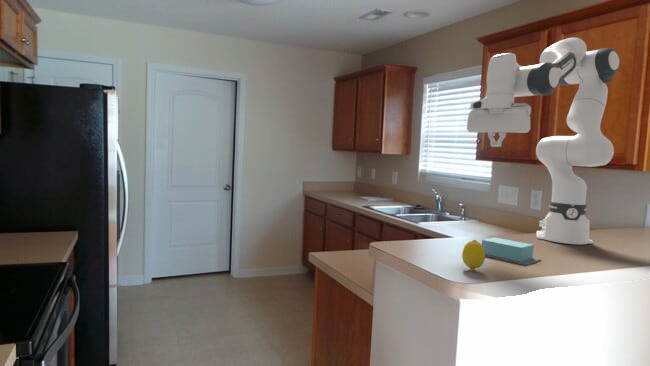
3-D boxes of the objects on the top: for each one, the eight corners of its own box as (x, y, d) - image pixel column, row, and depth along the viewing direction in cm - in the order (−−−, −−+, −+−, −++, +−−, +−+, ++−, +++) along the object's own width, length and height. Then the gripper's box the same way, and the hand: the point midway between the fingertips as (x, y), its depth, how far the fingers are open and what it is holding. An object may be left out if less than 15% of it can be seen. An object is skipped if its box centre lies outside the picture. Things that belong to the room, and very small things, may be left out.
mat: (482, 255, 132) (482, 254, 132) (498, 251, 139) (498, 250, 139) (526, 265, 123) (526, 263, 123) (541, 260, 129) (541, 259, 129)
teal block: (482, 239, 133) (521, 247, 124) (494, 237, 139) (533, 244, 130) (481, 252, 134) (520, 261, 125) (493, 249, 139) (532, 258, 130)
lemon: (465, 266, 117) (467, 236, 117) (486, 270, 114) (488, 240, 114) (458, 270, 113) (460, 239, 112) (480, 274, 110) (482, 243, 109)
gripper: (535, 103, 138) (532, 147, 139) (475, 106, 153) (472, 146, 154) (527, 101, 134) (523, 146, 135) (466, 104, 149) (463, 145, 150)
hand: (495, 146), depth 144 cm, fingers closed
